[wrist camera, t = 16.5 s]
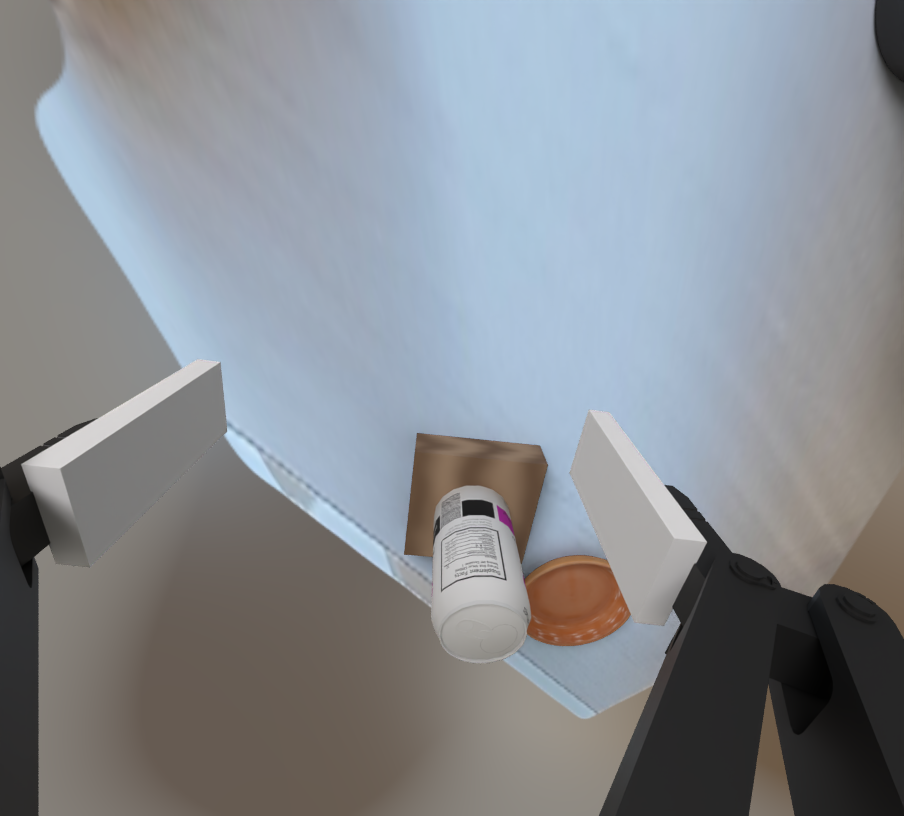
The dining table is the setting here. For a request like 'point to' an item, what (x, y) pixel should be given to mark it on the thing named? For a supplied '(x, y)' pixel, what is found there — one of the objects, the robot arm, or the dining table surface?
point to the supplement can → (477, 577)
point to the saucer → (574, 601)
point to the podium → (472, 482)
